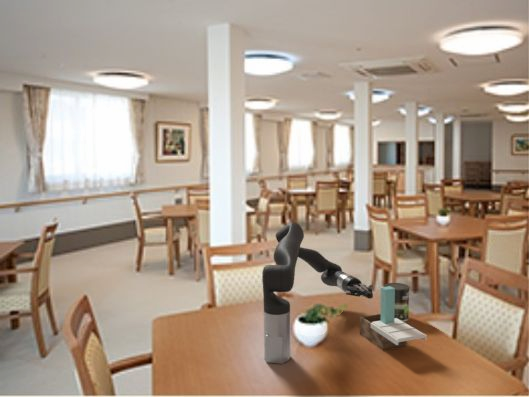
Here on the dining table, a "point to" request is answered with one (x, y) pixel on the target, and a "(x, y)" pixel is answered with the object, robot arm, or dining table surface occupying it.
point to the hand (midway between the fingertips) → (371, 296)
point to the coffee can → (401, 300)
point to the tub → (376, 333)
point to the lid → (393, 321)
